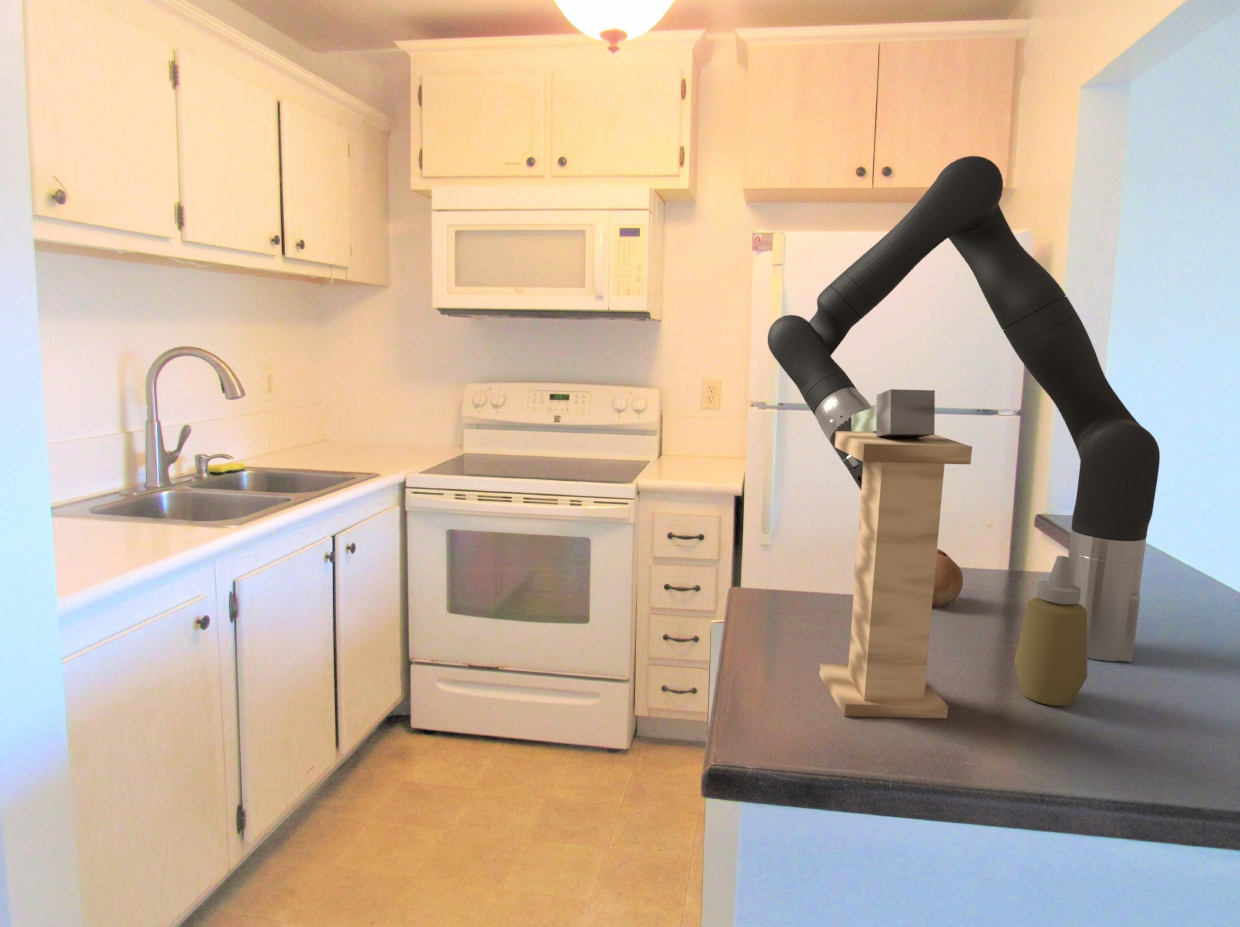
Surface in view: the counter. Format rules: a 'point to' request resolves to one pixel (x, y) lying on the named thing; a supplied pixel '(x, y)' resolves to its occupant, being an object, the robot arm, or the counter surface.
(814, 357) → the robot arm
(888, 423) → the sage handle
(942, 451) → the stand
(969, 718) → the counter surface
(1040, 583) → the squeeze bottle
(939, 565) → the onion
